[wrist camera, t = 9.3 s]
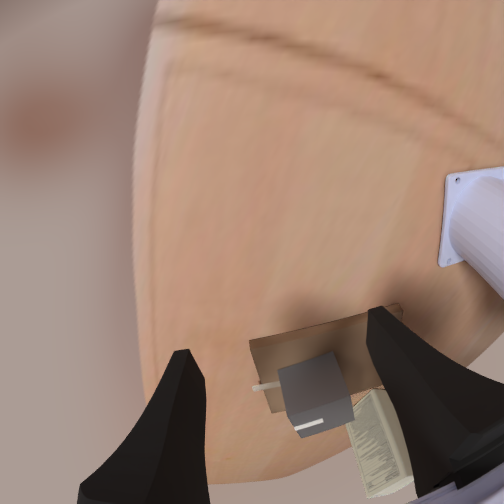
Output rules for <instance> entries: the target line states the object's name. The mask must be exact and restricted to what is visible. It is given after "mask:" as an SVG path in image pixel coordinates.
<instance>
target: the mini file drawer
mask: <svg viewBox="0 0 504 504" xmlns="http://www.w3.org/2000/svg"><path fill="white" fill-rule="evenodd" d="M277 372H278V376H279V381H280V385H281V390H282V394H283V399H284V404H285V408H286V413H287V417H288V418H289V420H290V422H291V423H292V425H293V426H294V429H295V430H296V431H297V433H298V434H299V436H300V437H301V438H304V437H308V436H311V435H314V434H317V433H320V432H323V431H326V430H329V429H332V428H335V427H338V426H341V425H344V424H346V423H349V422H352V421H354V420H355V417H354V412H353V407H352V402H351V397H350V393H349V391H348V388H347V386H346V383H345V381H344V378H343V375H342V373H341V370H340V368H339V365H338V363H337V360H336V358H335V355H334V353H333V351H331V352H329V353H326V354H323V355H321V356H318V357H315V358H312V359H309V360H307V361H304V362H301V363H298V364H295V365H292V366H289V367H286V368H283V369H280V370H277Z"/></svg>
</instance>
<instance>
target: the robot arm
mask: <svg viewBox="0 0 504 504" xmlns="http://www.w3.org/2000/svg"><path fill="white" fill-rule="evenodd" d="M456 178H457V181H456ZM455 181H456V182H455ZM464 260H465V261H466V262H468V263H469V264H470V265H471V266H472V267H473V268H474V269H475V270H476V271H477V272H478V273H479V274H480V275H481V276H482V277H483V278H484V279H485V280H486V281H487V283H488V284H489V285H490V286H491V287H492V288H493V289H494V290H495V291H496V292H497V293H498V294H499V295H500V296H501V297H502V298H503V300H504V166H502V167H494V168H486V169H479V170H472V171H465V172H458V173H451V174H449V175H448V176H447V177H446V181H445V199H444V213H443V224H442V233H441V242H440V250H439V257H438V265H439V266H440V267H446V266H449V265H452V264H455V263H458V262H461V261H464ZM366 345H367V348H368V351H369V354H370V357H371V360H372V363H373V365H374V367H375V369H376V371H377V373H378V375H379V377H380V379H381V382H382V384H383V386H384V388H385V390H386V392H387V394H388V396H389V398H390V400H391V402H392V404H393V406H394V409H395V411H396V414H397V417H398V420H399V423H400V426H401V429H402V432H403V436H404V439H405V443H406V446H407V450H408V454H409V458H410V463H411V467H412V472H413V477H414V483H415V489H416V494H417V496H418V499H416V500H413V501H411V502H409V503H406V504H504V384H502V383H500V382H497V381H494V380H492V379H489V378H486V377H484V376H482V375H479V374H478V373H476V372H473V371H471V370H469V369H467V368H465V367H463V366H461V365H460V364H458V363H456V362H454V361H453V360H451V359H450V358H448V357H446V356H445V355H443V354H442V353H440V352H439V351H437V350H436V349H435V348H433V347H432V346H430V345H429V344H428V343H426V342H425V341H424V340H422V339H421V338H420V337H419V336H417V335H416V334H415V333H414V332H412V331H411V330H410V329H409V328H408V327H406V326H405V325H404V324H403V323H402V322H401V321H399V320H398V319H397V318H396V317H395V316H394V315H392V314H391V313H390V312H389V311H388V310H387V309H386V308H384V307H383V306H379V307H376V308H372V309H369V310H368V320H367V334H366ZM205 422H206V388H205V378H204V376H203V374H202V373H201V371H200V369H199V367H198V365H197V363H196V361H195V360H194V358H193V356H192V354H191V352H190V350H189V349H184V350H178V351H174V353H173V355H172V357H171V359H170V361H169V363H168V365H167V368H166V370H165V372H164V374H163V376H162V378H161V380H160V382H159V384H158V386H157V388H156V390H155V392H154V394H153V396H152V398H151V400H150V401H149V403H148V405H147V407H146V408H145V410H144V412H143V414H142V415H141V417H140V418H139V420H138V421H137V423H136V425H135V426H134V428H133V429H132V430H131V432H130V433H129V434H128V436H127V437H126V439H125V440H124V441H123V442H122V444H121V445H120V446H119V447H118V448H117V450H116V451H115V452H114V453H113V454H112V455H111V456H110V457H109V458H108V459H107V460H106V461H105V462H104V463H103V465H101V467H99V468H98V469H97V470H96V471H95V472H94V473H93V474H91V475H90V476H89V477H88V478H87V479H86V480H84V481H83V482H82V483H81V484H80V487H79V493H78V500H77V504H210V498H209V492H208V484H207V476H206V466H205V448H204V446H205Z"/></svg>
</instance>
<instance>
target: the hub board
mask: <svg viewBox="0 0 504 504" xmlns="http://www.w3.org/2000/svg"><path fill="white" fill-rule="evenodd" d="M384 308H386V309H387V310H388V311H389V312H390V313H391V314H392V315H394V316H395V317H396V318H397V319H398V320H399V321H401V320H402V314H403V310H402V308H401V307H400V305H399V304H398V303H397V304H394V305H390V306H387V307H384ZM367 320H368V312H366V313H363V314H359V315H355V316H352V317H348V318H344V319H340V320H337V321H333V322H329V323H325V324H321V325H317V326H313V327H309V328H304V329H300V330H296V331H291V332H287V333H282V334H278V335H273V336H268V337H264V338H259V339H254V340H249V344H250V351H251V354H252V357H253V360H254V363H255V366H256V369H257V372H258V375H259V378H260V381H261V385H255V386H252V388H253V391H259V390H264V393H265V396H266V399H267V402H268V404H269V407H270V410H271V413H277V412H282V411H286V408H285V404H284V399H283V394H282V390H281V385H280V381H279V376H278V372H277V370H280V369H283V368H286V367H289V366H292V365H295V364H298V363H301V362H304V361H307V360H309V359H312V358H315V357H318V356H321V355H323V354H326V353H329V352H331V351H333V353H334V355H335V358H336V360H337V363H338V365H339V368H340V370H341V373H342V375H343V378H344V381H345V383H346V386H347V388H348V391H349V393H350V395H352V394H355V393H358V392H362V391H365V390H368V389H371V388H374V387H378V386H381V385H383V384H382V382H381V379H380V377H379V375H378V373H377V371H376V369H375V367H374V365H373V363H372V360H371V357H370V354H369V351H368V348H367V345H366V334H367Z"/></svg>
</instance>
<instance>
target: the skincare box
mask: <svg viewBox="0 0 504 504" xmlns="http://www.w3.org/2000/svg"><path fill="white" fill-rule="evenodd" d="M353 412H354V417H355V420H354V421H352V422H349V423H346V424H345V425H346V428H347V431H348V435H349V438H350V441H351V445H352V448H353V451H354V454H355V458H356V461H357V465H358V468H359V472H360V475H361V478H362V482H363V486H364V489H365V493H366V497H367V499H368V498H373V497H378V496H383V495H387V494H392V493H394V492H396V491H397V490H399V489H401V488H403V487H404V486H406V485H408V484H410V483H411V482H413V481H414V477H413V472H412V467H411V463H410V458H409V454H408V450H407V446H406V443H405V439H404V436H403V432H402V429H401V426H400V423H399V420H398V417H397V414H396V411H395V409H394V406H393V404H392V402H391V400H390V398H389V396H388V394H387V392H386V390H382V389H372V390H371V391H370V392H369V393H368V394H367V395H366V396H364V397H363V398H362V399H361V400H360V401H359V402H358V403H357V404H356V405H355V406H354V407H353Z"/></svg>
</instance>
